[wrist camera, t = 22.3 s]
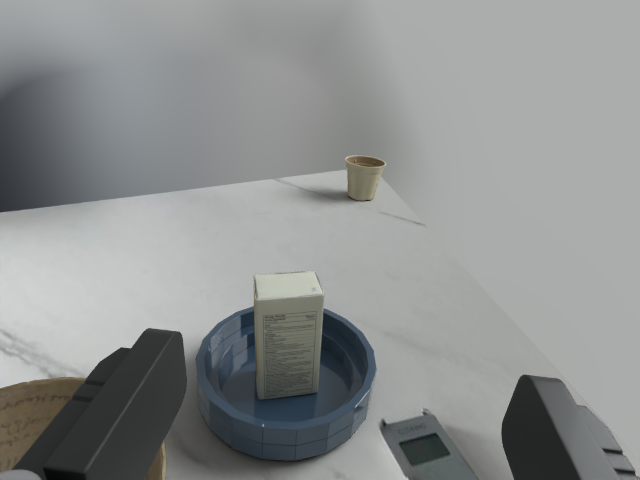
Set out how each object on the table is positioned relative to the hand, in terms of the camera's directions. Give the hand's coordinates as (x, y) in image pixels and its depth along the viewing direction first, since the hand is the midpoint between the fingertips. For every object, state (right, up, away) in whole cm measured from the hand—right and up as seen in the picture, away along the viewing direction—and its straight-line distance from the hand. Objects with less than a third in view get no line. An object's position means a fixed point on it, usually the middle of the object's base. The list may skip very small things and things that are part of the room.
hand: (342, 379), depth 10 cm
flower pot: (+9, +13, +87) cm, 89 cm away
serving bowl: (-4, -12, +33) cm, 36 cm away
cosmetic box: (-4, -12, +33) cm, 35 cm away
